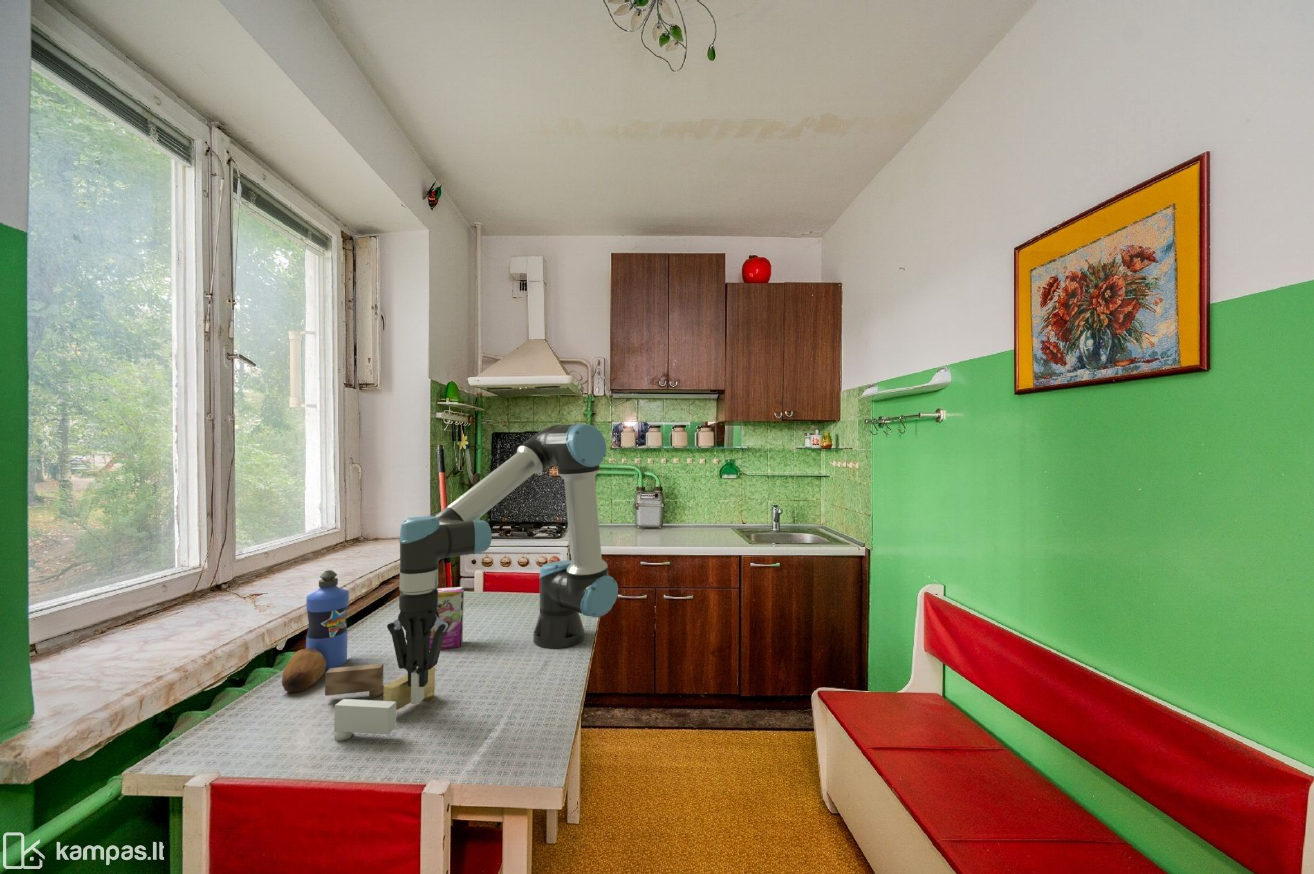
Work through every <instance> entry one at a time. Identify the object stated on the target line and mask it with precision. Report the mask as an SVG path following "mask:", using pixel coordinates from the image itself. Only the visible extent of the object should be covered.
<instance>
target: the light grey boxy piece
mask: <svg viewBox="0 0 1314 874" xmlns="http://www.w3.org/2000/svg"><path fill="white" fill-rule="evenodd" d="M333 719H334V721H333V722H334V726H333V727H334V729H333V731H334V732H333V733H334V737H333V739H334V741H336V742H341V741H346V740H348V739H349V738H351V737H352V736H353V733H357V734H358V733H359V734H375V735H376V734H377V735H389V734H390V733H391V732H393V731H394V730H395V729H396V728H397V710H396V702H393V701H383V700H371V699H353V698H352V699H351V698H349V699H348V698H343V699H341V700H340V701H338V702H337V703H335V704H334V718H333Z"/></svg>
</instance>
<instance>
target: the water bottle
mask: <svg viewBox="0 0 1314 874" xmlns="http://www.w3.org/2000/svg"><path fill="white" fill-rule="evenodd" d="M337 576H338V573H336V572H335V571H334V570H325V571H323V573H322V574H321V575H319V578H320V579H319V580H318V587H319V588H318V589H317V590H315V591H314V592H311V593H310V594H308V595H307V596H306V602H305V603H306V605H305V606H306V607H305V609H306V610H305V611H306V613H307V620H308V628H307V632H306V637H305V638H306V641H305V642H306V645H305V648H308V649H316V650H317V651H319V652H320V653H321V654H322V655H323V657H324V659H325V661H326V668H325V672H324V673H323V675H326V672H327V671H328V670H329V669H330V668H338V667H340V666H342V665H343V664H344V663H346V662H347V660H348V627H347V612H348V606H349V603H350V599H349V598H350V590H348V589H344V588H341V587H339V586H338V585H339V578H338V577H337Z"/></svg>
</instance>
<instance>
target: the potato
mask: <svg viewBox="0 0 1314 874" xmlns="http://www.w3.org/2000/svg"><path fill="white" fill-rule="evenodd" d="M325 668H326V661H325V659H324V657H323V655H322V654H321V653H320V652H319V651H317V650H316V649H308V648H306V647H304V648H302V649H299V650H297V651H295V652H294V654H293V655H292V656H291V657H290V659H289V661H288V662H287V663H286V665H285V668H284V670H283V673H282V678H281V685H282V687H283V689H284V691H285V692H286V693H288V694H292V693H298V692H302V691H305V690H306V689H308V688H310V687H311V686H314V684H315V683H317V682H318V681H319V680H320V679H321V677H322V676H323V675H324V674H323V673H324V672H325Z"/></svg>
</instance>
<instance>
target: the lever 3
mask: <svg viewBox="0 0 1314 874" xmlns="http://www.w3.org/2000/svg"><path fill="white" fill-rule="evenodd" d="M435 677H436V667H435V666H434V667H433V668H431V669H430V670H428V683H427V684H426V685H425V686H424V699H423V700H422V701H421V702H428V701H431V700H433V699H434V698H435V691H436V689H435V688H436V687H435V686H436V685H435V684H436V678H435ZM383 686H384V695H383V696H382V697H383V698H382V699H383V700H382V701H393V702H396V711H398V710H400V709H401V708H404V707H405V706H407V705H409V704H411V687H408V674H407V675H404V676H402V677H401V678H399V679H395V680H394V681H391V682H390V683H387V684H385V685H383Z"/></svg>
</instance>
